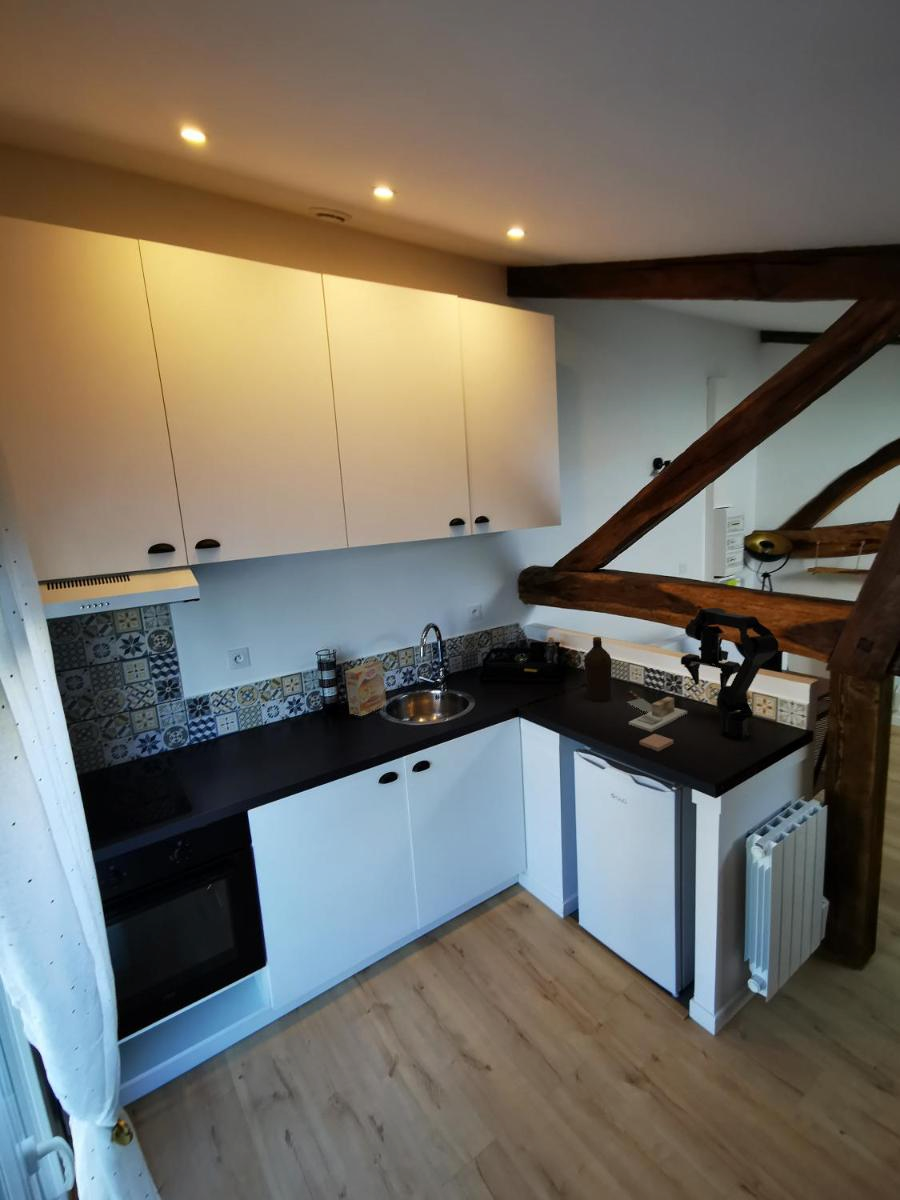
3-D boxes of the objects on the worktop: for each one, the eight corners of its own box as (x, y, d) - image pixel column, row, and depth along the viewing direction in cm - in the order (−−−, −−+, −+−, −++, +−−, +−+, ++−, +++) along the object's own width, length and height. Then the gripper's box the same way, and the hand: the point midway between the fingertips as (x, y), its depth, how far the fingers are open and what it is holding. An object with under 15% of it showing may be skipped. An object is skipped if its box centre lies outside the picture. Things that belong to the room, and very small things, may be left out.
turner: (664, 708, 207) (663, 695, 207) (678, 712, 203) (678, 699, 202) (637, 720, 198) (637, 707, 197) (652, 725, 194) (652, 711, 193)
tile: (673, 740, 181) (658, 747, 176) (673, 744, 181) (658, 752, 177) (654, 733, 187) (639, 740, 182) (654, 738, 187) (639, 745, 182)
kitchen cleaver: (613, 693, 228) (636, 689, 229) (613, 695, 228) (637, 691, 229) (639, 715, 204) (665, 711, 205) (639, 718, 205) (665, 714, 205)
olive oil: (617, 696, 225) (616, 636, 221) (603, 704, 218) (601, 642, 214) (595, 691, 233) (593, 633, 229) (580, 699, 226) (578, 639, 222)
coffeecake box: (361, 720, 223) (356, 673, 219) (349, 717, 227) (344, 670, 223) (387, 707, 234) (382, 662, 231) (375, 704, 239) (370, 660, 235)
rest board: (687, 713, 203) (687, 711, 203) (651, 731, 191) (651, 729, 191) (665, 707, 211) (665, 704, 210) (628, 724, 198) (628, 721, 198)
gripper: (749, 643, 189) (748, 687, 192) (697, 635, 204) (697, 676, 207) (732, 650, 182) (731, 696, 185) (679, 641, 197) (680, 683, 200)
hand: (709, 687), depth 194 cm, fingers open, 9 cm apart
